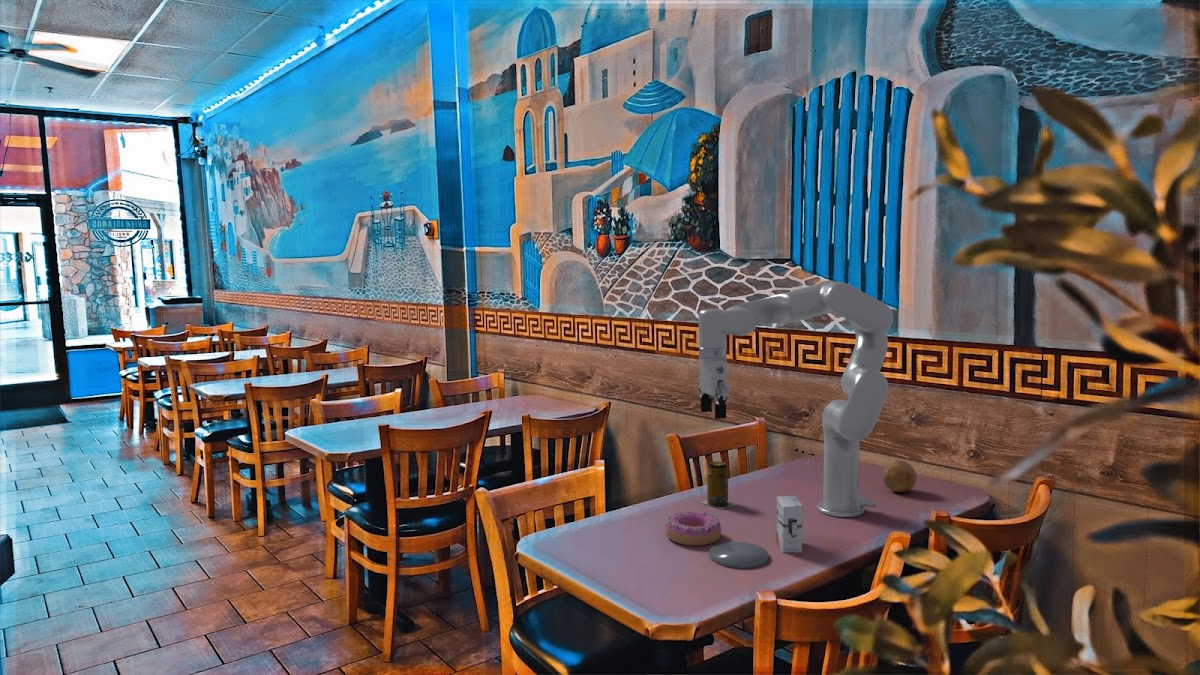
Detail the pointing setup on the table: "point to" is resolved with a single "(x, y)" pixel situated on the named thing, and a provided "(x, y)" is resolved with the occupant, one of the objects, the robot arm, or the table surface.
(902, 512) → the table surface
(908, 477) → the onion
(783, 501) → the ink box
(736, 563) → the grey oval disc
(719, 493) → the condiment
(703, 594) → the table surface
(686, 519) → the donut
